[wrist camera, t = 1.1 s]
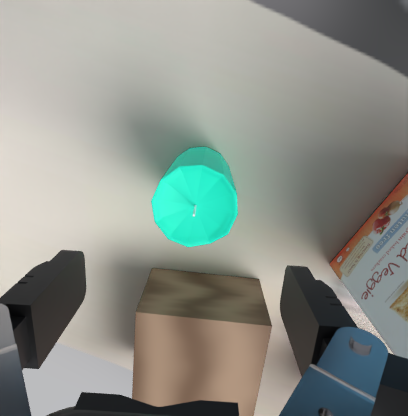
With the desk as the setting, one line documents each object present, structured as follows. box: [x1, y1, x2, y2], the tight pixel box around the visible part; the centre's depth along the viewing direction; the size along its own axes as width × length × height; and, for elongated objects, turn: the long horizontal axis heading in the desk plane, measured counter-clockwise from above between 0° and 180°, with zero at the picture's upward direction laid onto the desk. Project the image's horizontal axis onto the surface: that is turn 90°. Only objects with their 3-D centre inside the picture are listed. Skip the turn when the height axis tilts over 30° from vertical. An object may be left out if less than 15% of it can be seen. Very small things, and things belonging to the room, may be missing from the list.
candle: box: [151, 147, 238, 247], centre depth 25 cm, size 6×6×12 cm
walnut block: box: [132, 268, 272, 416], centre depth 33 cm, size 12×12×8 cm
